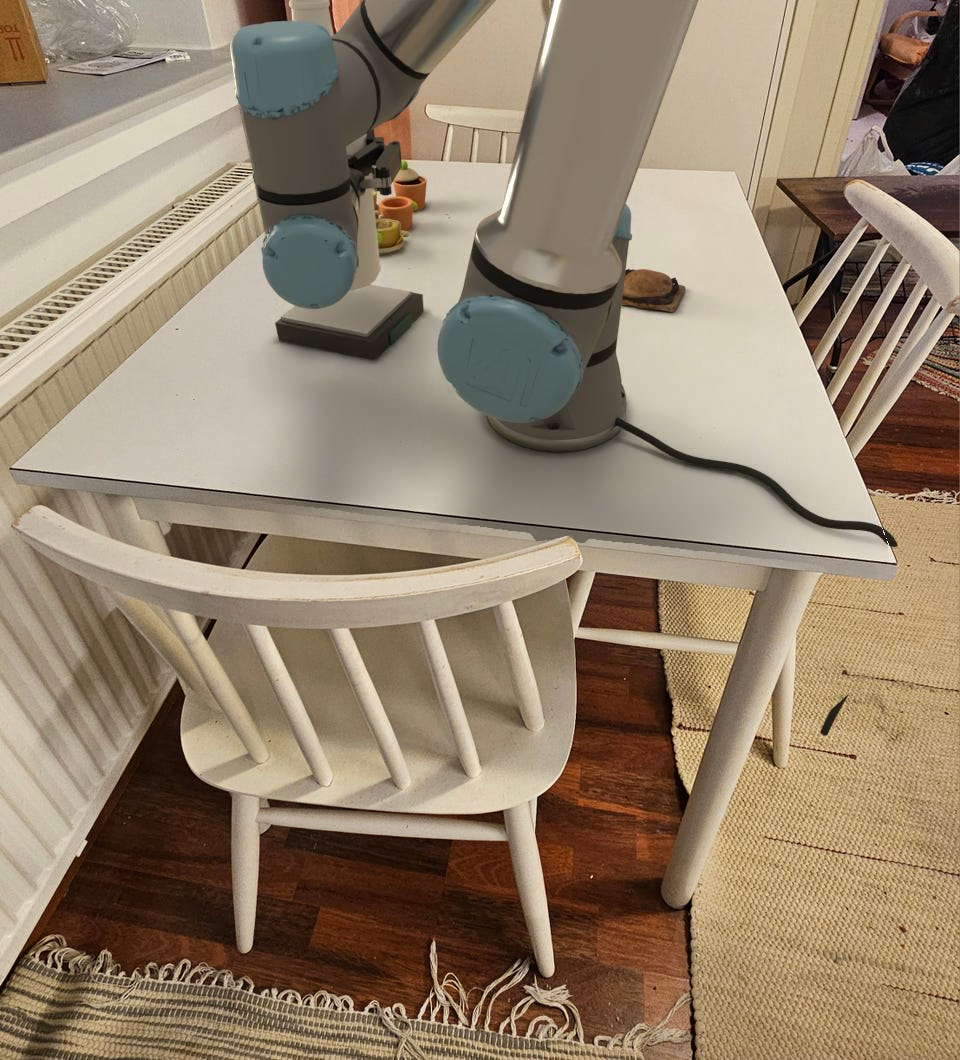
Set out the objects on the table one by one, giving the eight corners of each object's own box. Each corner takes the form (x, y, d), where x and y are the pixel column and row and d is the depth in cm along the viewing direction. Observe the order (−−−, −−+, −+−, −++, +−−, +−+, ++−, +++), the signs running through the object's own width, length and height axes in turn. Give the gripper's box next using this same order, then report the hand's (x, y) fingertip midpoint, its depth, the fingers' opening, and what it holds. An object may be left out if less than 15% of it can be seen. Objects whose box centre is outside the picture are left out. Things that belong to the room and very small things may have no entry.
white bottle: (319, 297, 90) (270, -7, 70) (304, 269, 96) (254, -18, 76) (389, 285, 93) (361, -13, 72) (370, 258, 99) (339, -23, 78)
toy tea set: (399, 260, 114) (393, 194, 108) (303, 253, 117) (292, 189, 110) (439, 201, 133) (436, 142, 127) (356, 196, 136) (349, 138, 129)
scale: (425, 311, 102) (423, 290, 100) (376, 360, 92) (373, 338, 90) (334, 295, 106) (331, 274, 104) (278, 340, 96) (274, 319, 94)
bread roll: (687, 290, 105) (691, 264, 103) (673, 315, 100) (677, 289, 97) (613, 278, 109) (616, 252, 106) (596, 301, 103) (599, 275, 101)
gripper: (430, 158, 69) (420, 98, 86) (193, 168, 68) (229, 105, 84) (434, 239, 74) (424, 167, 91) (214, 250, 73) (244, 175, 90)
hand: (330, 137), depth 88 cm, fingers closed on white bottle, 9 cm apart
